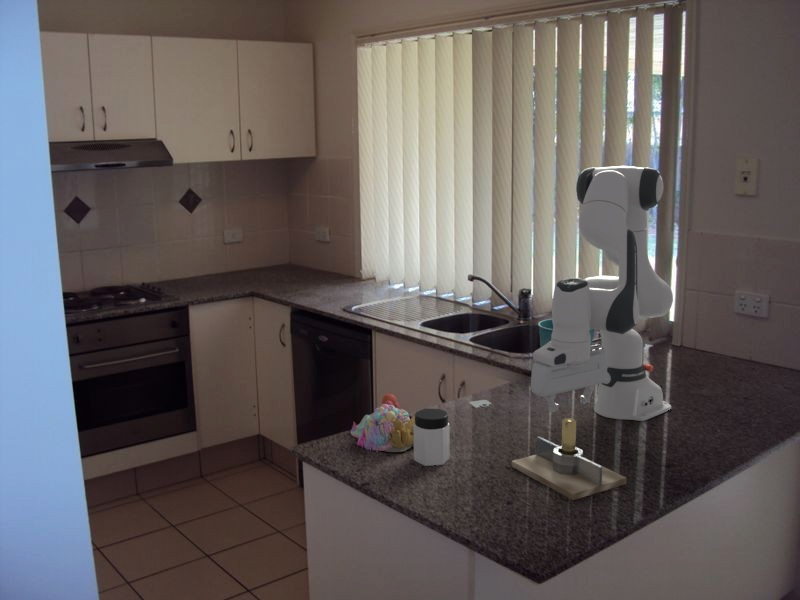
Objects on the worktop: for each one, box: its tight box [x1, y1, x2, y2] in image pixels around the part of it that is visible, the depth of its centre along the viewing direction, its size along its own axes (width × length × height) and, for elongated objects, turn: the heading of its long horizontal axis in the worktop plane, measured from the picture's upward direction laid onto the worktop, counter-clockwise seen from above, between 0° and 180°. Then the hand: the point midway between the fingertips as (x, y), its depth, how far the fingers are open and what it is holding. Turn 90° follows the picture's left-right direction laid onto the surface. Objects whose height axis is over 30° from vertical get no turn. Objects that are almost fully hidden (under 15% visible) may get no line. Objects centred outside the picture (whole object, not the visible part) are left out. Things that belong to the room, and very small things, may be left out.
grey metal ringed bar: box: [536, 436, 602, 486], centre depth 201 cm, size 7×22×4 cm, turn 30°
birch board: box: [511, 453, 628, 501], centre depth 202 cm, size 16×22×2 cm
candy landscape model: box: [350, 393, 415, 453], centre depth 228 cm, size 25×24×9 cm
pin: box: [561, 417, 577, 455], centre depth 201 cm, size 3×3×12 cm
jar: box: [413, 408, 451, 467], centre depth 211 cm, size 9×8×12 cm
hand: (569, 407), depth 199 cm, fingers open, 8 cm apart
